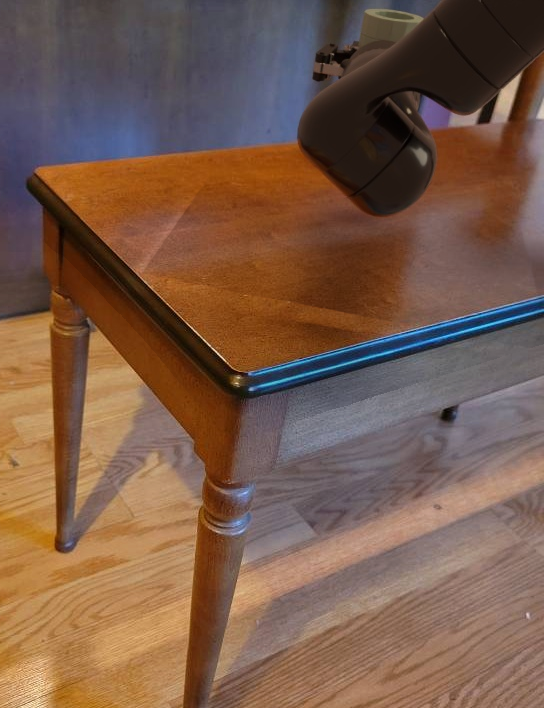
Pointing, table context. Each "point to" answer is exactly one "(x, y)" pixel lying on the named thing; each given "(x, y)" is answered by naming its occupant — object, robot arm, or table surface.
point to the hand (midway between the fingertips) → (385, 56)
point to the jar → (386, 25)
